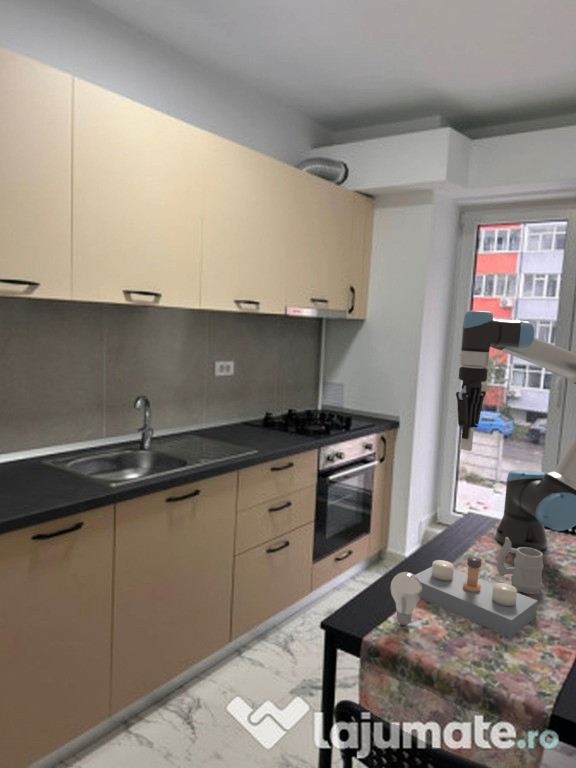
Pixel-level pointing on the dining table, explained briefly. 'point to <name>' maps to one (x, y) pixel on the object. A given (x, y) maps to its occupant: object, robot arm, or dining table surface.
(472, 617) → the panel
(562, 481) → the robot arm
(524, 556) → the mug
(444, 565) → the knob
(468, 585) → the ball
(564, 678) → the dining table surface
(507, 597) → the knob
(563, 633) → the dining table surface
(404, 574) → the light bulb
